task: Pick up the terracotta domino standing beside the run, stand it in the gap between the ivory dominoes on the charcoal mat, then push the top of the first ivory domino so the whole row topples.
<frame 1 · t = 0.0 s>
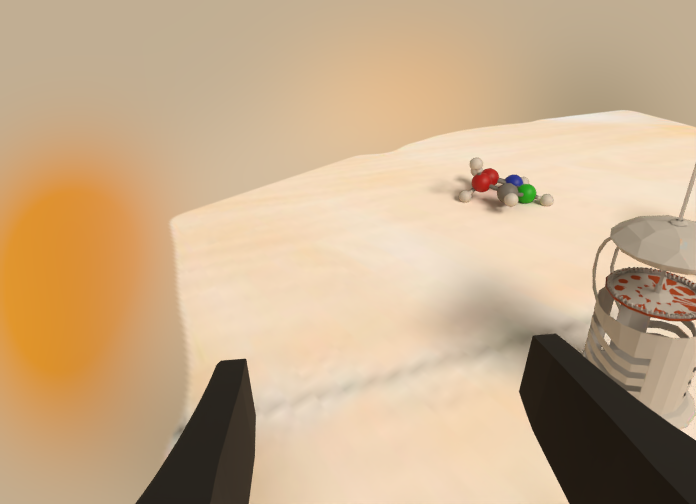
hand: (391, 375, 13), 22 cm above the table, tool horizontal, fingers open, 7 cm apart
french press: (620, 382, 43), on the table
molecule model: (500, 200, 81), on the table
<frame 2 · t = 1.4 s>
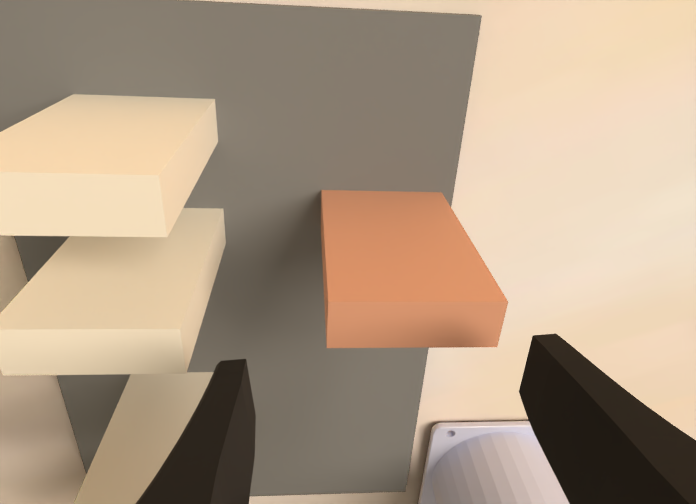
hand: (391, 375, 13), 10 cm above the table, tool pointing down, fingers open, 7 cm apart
domino 4: (148, 118, 19), resting on mat
mat: (243, 309, 24), on the table
domino 2: (185, 384, 25), resting on mat
terracotta domino: (380, 208, 21), resting on mat
domino 3: (163, 225, 21), resting on mat
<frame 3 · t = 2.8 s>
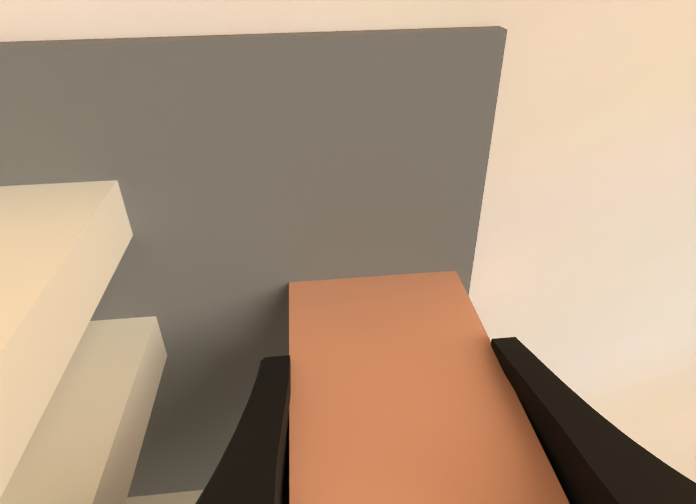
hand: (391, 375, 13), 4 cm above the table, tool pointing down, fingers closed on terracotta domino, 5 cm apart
domino 4: (24, 214, 13), resting on mat
mat: (205, 420, 18), on the table
terracotta domino: (373, 297, 15), resting on mat, touching gripper
domino 3: (77, 342, 15), resting on mat
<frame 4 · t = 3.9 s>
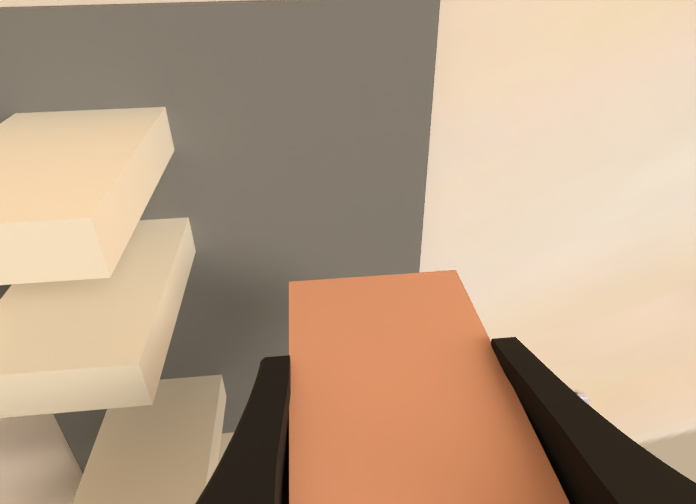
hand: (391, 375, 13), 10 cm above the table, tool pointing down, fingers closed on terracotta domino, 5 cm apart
domino 4: (97, 132, 18), resting on mat
mat: (222, 313, 23), on the table
domino 2: (173, 390, 25), resting on mat
terracotta domino: (372, 297, 15), point 7 cm above the table, touching gripper
domino 3: (128, 238, 20), resting on mat
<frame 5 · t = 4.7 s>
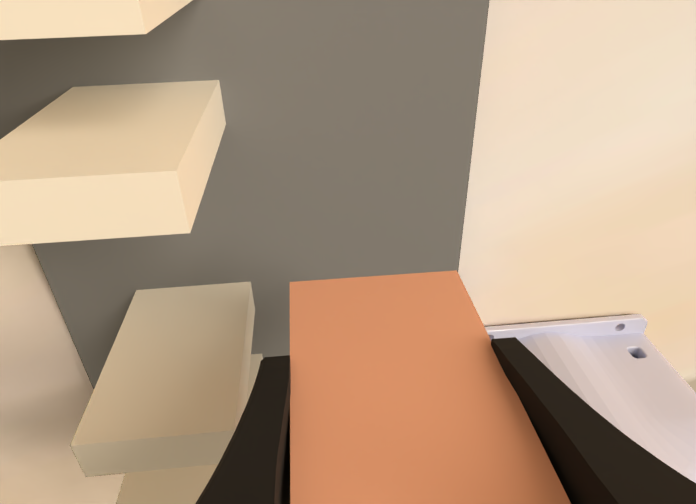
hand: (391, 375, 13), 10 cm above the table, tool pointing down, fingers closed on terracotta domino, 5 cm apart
domino 1: (213, 369, 25), resting on mat
mat: (253, 208, 21), on the table
domino 2: (197, 299, 23), resting on mat
terracotta domino: (373, 297, 15), point 7 cm above the table, touching gripper
domino 3: (152, 106, 18), resting on mat
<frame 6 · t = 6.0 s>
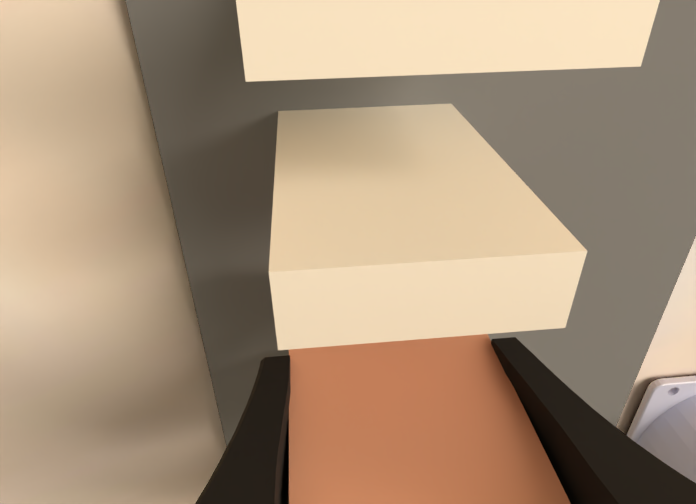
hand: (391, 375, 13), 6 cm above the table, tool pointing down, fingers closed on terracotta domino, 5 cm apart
mat: (446, 249, 18), on the table
terracotta domino: (373, 296, 15), point 3 cm above the table, touching gripper
domino 3: (365, 134, 15), resting on mat
when the fingers open (5 cm above the table, at t = 6.8 s): terracotta domino drops 1 cm, resting on mat.
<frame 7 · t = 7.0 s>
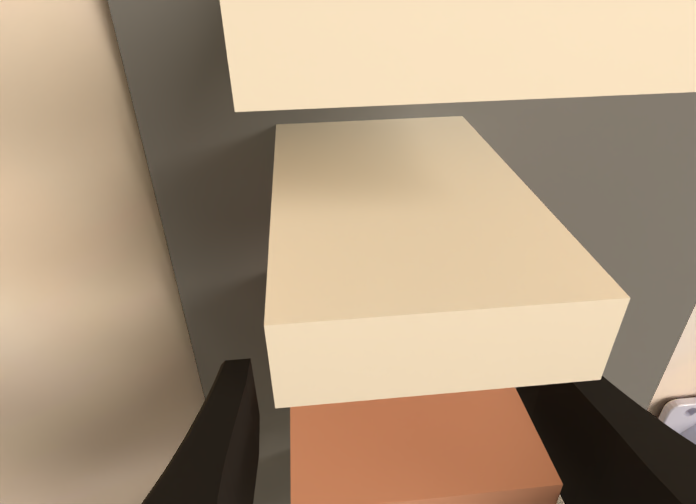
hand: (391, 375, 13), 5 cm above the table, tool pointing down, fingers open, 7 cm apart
mat: (455, 268, 17), on the table
terracotta domino: (369, 277, 16), resting on mat
domino 3: (370, 148, 14), resting on mat
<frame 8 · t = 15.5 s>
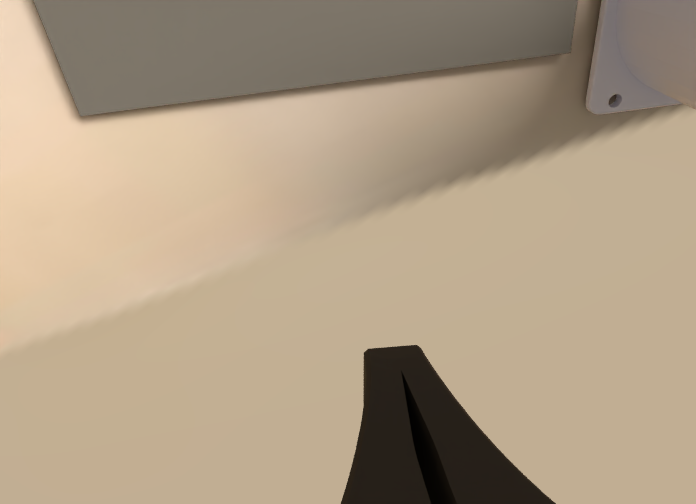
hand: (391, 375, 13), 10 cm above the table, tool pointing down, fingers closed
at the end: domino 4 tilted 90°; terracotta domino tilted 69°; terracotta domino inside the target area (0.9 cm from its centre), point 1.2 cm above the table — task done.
